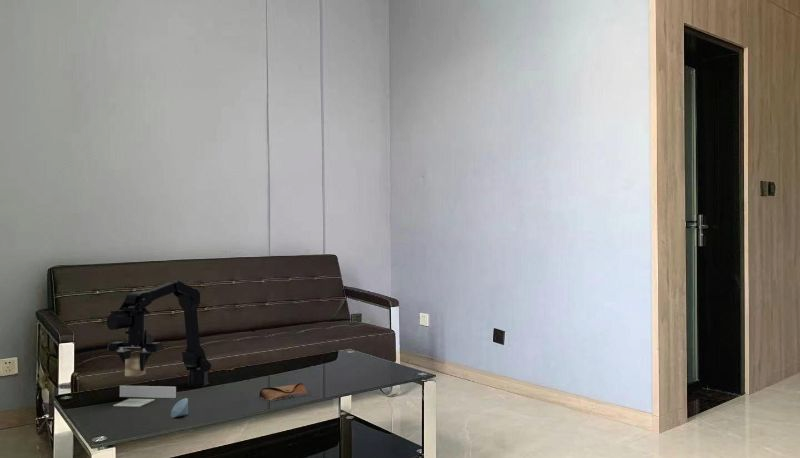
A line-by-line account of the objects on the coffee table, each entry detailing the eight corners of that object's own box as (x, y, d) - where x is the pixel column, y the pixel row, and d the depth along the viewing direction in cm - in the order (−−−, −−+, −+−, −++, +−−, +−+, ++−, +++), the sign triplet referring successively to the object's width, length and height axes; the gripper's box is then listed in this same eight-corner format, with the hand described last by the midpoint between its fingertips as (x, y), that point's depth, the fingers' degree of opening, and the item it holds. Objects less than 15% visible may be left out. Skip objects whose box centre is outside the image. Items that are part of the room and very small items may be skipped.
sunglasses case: (268, 402, 222) (264, 384, 225) (261, 408, 227) (257, 391, 230) (313, 394, 232) (309, 378, 235) (305, 401, 237) (301, 384, 240)
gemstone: (194, 401, 210) (183, 393, 208) (198, 409, 204) (187, 400, 202) (177, 419, 208) (166, 411, 206) (181, 428, 202) (169, 419, 200)
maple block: (145, 373, 226) (145, 357, 226) (137, 376, 221) (138, 359, 221) (132, 373, 227) (133, 357, 227) (124, 376, 222) (125, 359, 222)
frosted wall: (175, 397, 230) (175, 386, 231) (174, 398, 230) (174, 387, 230) (120, 396, 233) (120, 385, 234) (119, 396, 233) (119, 386, 233)
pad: (154, 400, 227) (154, 399, 227) (139, 406, 217) (139, 405, 217) (129, 399, 228) (129, 398, 228) (113, 406, 218) (113, 405, 218)
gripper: (171, 325, 231) (170, 367, 231) (125, 324, 234) (124, 366, 233) (155, 328, 220) (155, 372, 220) (107, 328, 223) (106, 371, 222)
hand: (135, 370), depth 224 cm, fingers closed on maple block, 5 cm apart
